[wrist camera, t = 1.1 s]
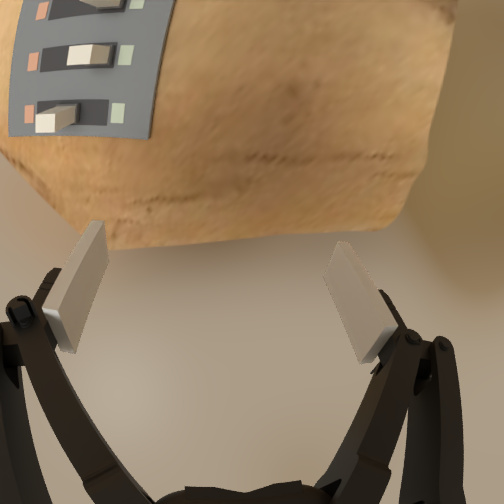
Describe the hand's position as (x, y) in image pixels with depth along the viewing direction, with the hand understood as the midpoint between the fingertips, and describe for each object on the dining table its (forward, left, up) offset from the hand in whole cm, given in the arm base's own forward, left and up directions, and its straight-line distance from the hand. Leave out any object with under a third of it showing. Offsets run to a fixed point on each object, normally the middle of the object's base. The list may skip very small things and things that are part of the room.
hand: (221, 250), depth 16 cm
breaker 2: (-10, -15, -20) cm, 27 cm away
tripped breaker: (-3, -19, -20) cm, 28 cm away
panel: (-10, -19, -22) cm, 30 cm away
